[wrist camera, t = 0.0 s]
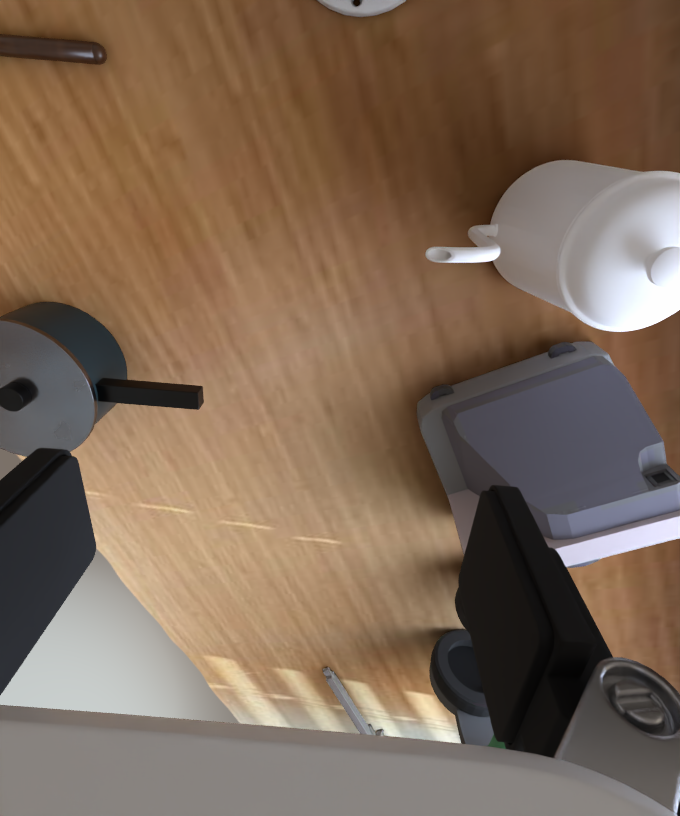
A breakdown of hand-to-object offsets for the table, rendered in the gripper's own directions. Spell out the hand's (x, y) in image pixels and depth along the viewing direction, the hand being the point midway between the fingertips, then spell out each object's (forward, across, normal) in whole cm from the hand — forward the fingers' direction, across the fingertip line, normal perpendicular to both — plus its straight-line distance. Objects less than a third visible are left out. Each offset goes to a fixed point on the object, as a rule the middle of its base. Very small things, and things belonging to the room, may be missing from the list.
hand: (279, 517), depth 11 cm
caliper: (+37, -8, +68) cm, 78 cm away
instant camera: (+37, -21, +17) cm, 46 cm away
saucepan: (+37, +23, +13) cm, 46 cm away
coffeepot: (+37, -18, -4) cm, 41 cm away
